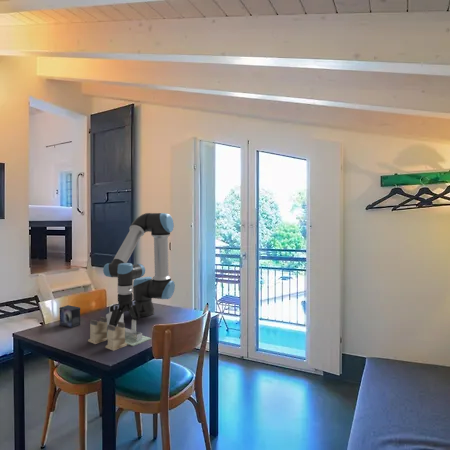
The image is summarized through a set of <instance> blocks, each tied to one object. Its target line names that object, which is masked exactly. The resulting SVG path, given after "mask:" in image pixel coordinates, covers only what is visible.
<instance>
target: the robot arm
mask: <svg viewBox="0 0 450 450" xmlns="http://www.w3.org/2000/svg"><path fill="white" fill-rule="evenodd" d="M174 227H175V226H174V219H173V217H172V215H171V214H169V213H165V212H161V213H160V212H158V213H157V212H146V213H143V214H141V215H139V216H138V217H137V218H136V219H135V220H133V221H132V223H131V225H130V226H129V232H128V233H127V234H126V236H125V238H124V240H123V241H122V244H121V245H120V247H119V248H118V251H117V252H116V254H115V256H114V257H113V259H112V260H111V262H109V263H106V264H104V266H103V270H102V271H103V274H104V276H105V277H109V278H117V302H118V303H117V304H118V305H116V306H115V305H113V304H112V305H113V311H112V315H111V318H110V322H109V325H113V326H115V327H117V324H118V322H119V320H120V318H121V315H122V314H123V313H125V312H128V313H129V315H130V316H131V318H132V319H131V330H134V331H137V325H138V321H139V319H140V318H143V317H149V316H152V315H154V314H155V308H154V305H153V301H152V300H153V299H158V300H169V299H171V298H172V297H173V295H174V292H175V289H176V288H175V287H176V284H175V282H174V280H172V276H170V275H169V238H168V237H169V236H171V233H172V232H173V231H174ZM148 232H149V233H151V236H152V237H153V253H154V254H153V255H154V259H153V261H154V276H145V273H146V268H145V266H144V265H143V264H141V263H135V264H133V263H131V262H128V261H129V259H130V258H131V256H132V254H133V252H134V251H135V248H136V247H137V245H138V242H139V241H140V239H141V237H143V236H144V235H145V234H146V233H148ZM143 276H144V277H143ZM118 308H119V309H118Z"/></svg>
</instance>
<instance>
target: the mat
mask: <svg viewBox="0 0 450 450" xmlns="http://www.w3.org/2000/svg"><path fill="white" fill-rule="evenodd" d="M107 337H108V331H107ZM150 340H152V337H149V336H146V335H143V334H142V340H140V341H138V342H136V341H133V340H130V339H127V338H125V343H127V346H130V347H131V346H132V347H134V346H137V345H140V344H143V343H145V342H148V341H150Z"/></svg>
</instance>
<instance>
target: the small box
mask: <svg viewBox="0 0 450 450" xmlns="http://www.w3.org/2000/svg"><path fill="white" fill-rule="evenodd" d="M58 308H59V309H58V310H59V326H61V327H66V328H70V329H74V328H77V327H80V326H81V307H79V306H75V305H71V304H70V305H69V304H68V305H63V306H62V307H58Z"/></svg>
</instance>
